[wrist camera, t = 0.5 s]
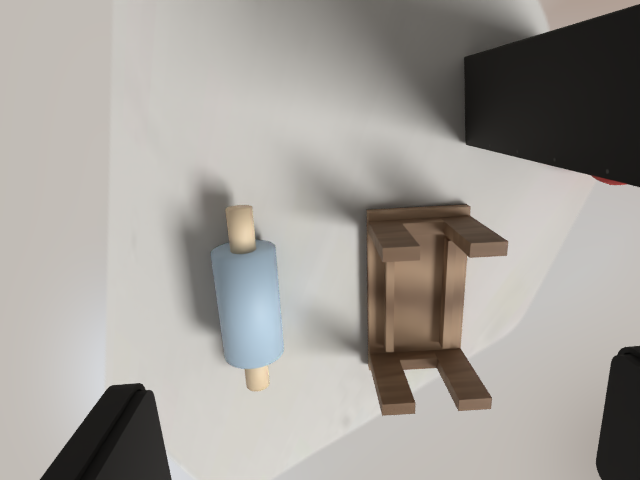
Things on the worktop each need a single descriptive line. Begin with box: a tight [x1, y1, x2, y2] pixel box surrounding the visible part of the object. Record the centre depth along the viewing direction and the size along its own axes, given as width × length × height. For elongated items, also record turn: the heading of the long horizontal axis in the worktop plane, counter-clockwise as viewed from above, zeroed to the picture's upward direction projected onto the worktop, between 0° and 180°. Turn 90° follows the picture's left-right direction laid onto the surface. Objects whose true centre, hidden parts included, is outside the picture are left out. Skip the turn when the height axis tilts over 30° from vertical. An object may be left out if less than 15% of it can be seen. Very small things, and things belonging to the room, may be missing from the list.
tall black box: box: [464, 4, 640, 187], centre depth 24 cm, size 8×8×28 cm
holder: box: [367, 204, 508, 416], centre depth 39 cm, size 18×10×9 cm, turn 3°
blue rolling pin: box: [211, 205, 284, 391], centre depth 40 cm, size 19×6×6 cm, turn 3°
